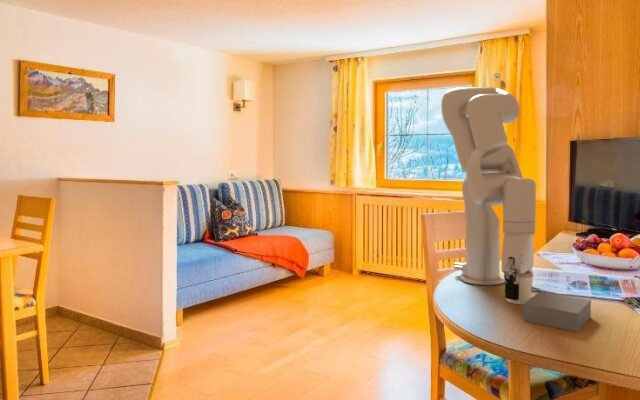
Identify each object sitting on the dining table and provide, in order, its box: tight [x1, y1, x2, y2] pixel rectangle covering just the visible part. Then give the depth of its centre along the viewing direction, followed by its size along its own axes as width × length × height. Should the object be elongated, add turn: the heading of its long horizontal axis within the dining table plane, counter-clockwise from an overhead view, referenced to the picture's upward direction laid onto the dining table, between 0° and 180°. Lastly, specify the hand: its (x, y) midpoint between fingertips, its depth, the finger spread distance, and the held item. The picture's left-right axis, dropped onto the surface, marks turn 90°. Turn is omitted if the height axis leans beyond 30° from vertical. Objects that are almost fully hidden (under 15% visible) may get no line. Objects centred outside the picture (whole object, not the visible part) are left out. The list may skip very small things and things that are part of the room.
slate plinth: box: [522, 291, 592, 333], centre depth 107 cm, size 11×11×4 cm
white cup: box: [504, 271, 534, 305], centre depth 120 cm, size 7×7×7 cm
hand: (518, 294), depth 120 cm, fingers open, 9 cm apart
